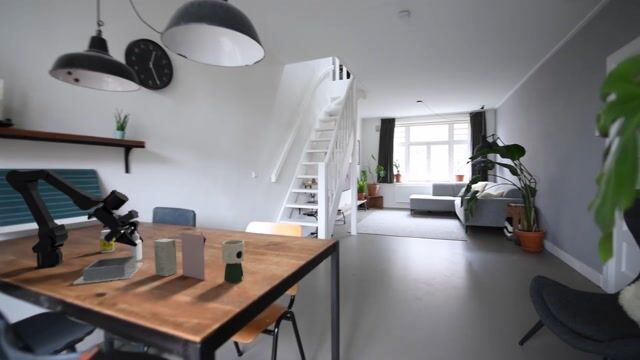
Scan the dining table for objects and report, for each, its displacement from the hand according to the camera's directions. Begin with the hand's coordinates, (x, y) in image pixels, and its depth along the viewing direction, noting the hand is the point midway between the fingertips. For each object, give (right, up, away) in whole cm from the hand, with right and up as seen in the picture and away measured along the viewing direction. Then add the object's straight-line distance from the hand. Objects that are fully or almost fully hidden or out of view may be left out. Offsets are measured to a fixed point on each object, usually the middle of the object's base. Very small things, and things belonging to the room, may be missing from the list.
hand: (139, 244), depth 119 cm
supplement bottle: (-24, -7, +14) cm, 28 cm away
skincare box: (+20, -7, -16) cm, 27 cm away
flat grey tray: (-1, -7, -16) cm, 17 cm away
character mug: (+46, -7, -24) cm, 52 cm away
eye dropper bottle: (-1, -7, 0) cm, 7 cm away
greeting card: (+31, -7, -19) cm, 37 cm away
